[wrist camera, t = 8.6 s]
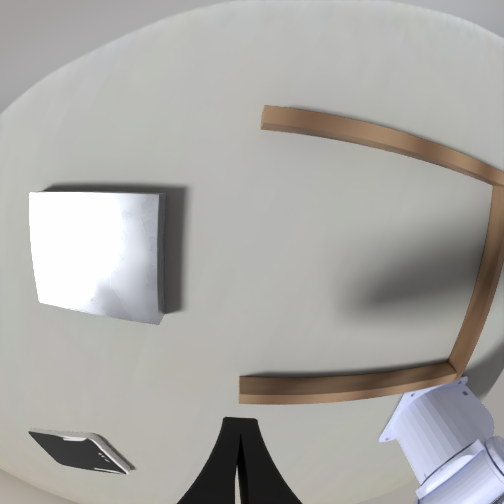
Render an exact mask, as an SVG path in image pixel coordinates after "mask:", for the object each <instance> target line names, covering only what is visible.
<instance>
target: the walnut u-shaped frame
mask: <svg viewBox="0 0 504 504" xmlns="http://www.w3.org/2000/svg"><path fill="white" fill-rule="evenodd" d="M261 129H262V130H272V131H281V132H289V133H297V134H304V135H311V136H317V137H323V138H329V139H335V140H340V141H345V142H350V143H355V144H360V145H365V146H369V147H374V148H378V149H382V150H386V151H390V152H394V153H398V154H402V155H406V156H409V157H413V158H416V159H420V160H423V161H426V162H430V163H433V164H436V165H439V166H442V167H445V168H448V169H451V170H454V171H457V172H460V173H463V174H465V175H468V176H471V177H473V178H476V179H479V180H481V181H484V182H486V183H489V184H491V185H493V193H492V203H491V211H490V218H489V225H488V231H487V237H486V242H485V247H484V252H483V257H482V261H481V265H480V269H479V273H478V277H477V281H476V285H475V288H474V291H473V295H472V298H471V301H470V304H469V307H468V310H467V313H466V316H465V319H464V322H463V325H462V327H461V330H460V333H459V335H458V338H457V340H456V343H455V345H454V347H453V350H452V352H451V354H450V357H449V359H448V361H447V362H446V363H441V364H435V365H430V366H424V367H418V368H412V369H405V370H398V371H391V372H382V373H373V374H363V375H350V376H335V377H310V378H265V377H240V379H239V404H314V403H329V402H341V401H351V400H360V399H368V398H375V397H382V396H389V395H395V394H400V393H406V392H411V391H416V390H420V389H425V388H429V387H434V386H438V385H442V384H446V383H449V382H453V381H457V380H460V378H461V376H462V374H463V372H464V370H465V368H466V366H467V364H468V362H469V360H470V357H471V355H472V353H473V351H474V349H475V346H476V344H477V342H478V339H479V337H480V334H481V332H482V329H483V327H484V324H485V321H486V319H487V316H488V313H489V310H490V307H491V304H492V301H493V298H494V295H495V291H496V288H497V284H498V281H499V277H500V273H501V269H502V265H503V261H504V173H503V172H501V171H499V170H497V169H495V168H493V167H491V166H489V165H487V164H485V163H483V162H481V161H478V160H476V159H474V158H472V157H469V156H467V155H465V154H462V153H460V152H457V151H455V150H452V149H450V148H447V147H444V146H442V145H439V144H436V143H433V142H431V141H428V140H425V139H422V138H419V137H416V136H413V135H410V134H406V133H403V132H400V131H396V130H393V129H389V128H386V127H382V126H378V125H375V124H371V123H367V122H362V121H358V120H354V119H349V118H345V117H340V116H335V115H330V114H324V113H319V112H313V111H307V110H300V109H293V108H286V107H278V106H269V105H265V106H264V109H263V113H262V122H261Z"/></svg>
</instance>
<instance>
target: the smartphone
mask: <svg viewBox="0 0 504 504" xmlns="http://www.w3.org/2000/svg"><path fill="white" fill-rule="evenodd" d="M28 432H29V434H30V435H31V436H32V437H33V438H34V439H35V440H36V442H37V443H38V444H39V445H40V446H41V447H42V448H43V449H44V450H45V451H46V452H47V453H48V454H49V455H50V456H51V457H53V458H54V459H55V460H56V461H57V462H58V463H60V464H62V465H66V466H71V467H76V468H81V469H87V470H94V471H101V472H108V473H118V474H129V471H130V466H129V465H128V464H126V463H125V462H124V461H123V460H122V459H121V458H120V457H119V456H118V455H117V454H116V453H115V452H114V451H113V450H112V449H111V448H109V447H108V446H107V445H106V444H105V442H104V441H103V440H102V439H101V438H100V437H98V436H97V435H95V434H93V433H79V432H64V431H52V430H43V429H35V428H30V430H29V431H28Z"/></svg>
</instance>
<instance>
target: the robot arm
mask: <svg viewBox="0 0 504 504" xmlns="http://www.w3.org/2000/svg"><path fill="white" fill-rule="evenodd" d="M467 380H468V377H467V376H464V377H461V378H460V380H457V381H453V382H449V383H446V384H442V385H438V386H434V387H429V388H425V389H420V390H416V391H411V392H406V393H404V395H403V397H402V399H401V401H400V402H399V404H398V406H397V408H396V410H395V412H394V414H393V415H392V417H391V419H390V421H389V423H388V424H387V426H386V428H385V429H384V431H383V433H382V434H381V436H380V438H379V441H380V442H386V441H390V440H394V439H397V440H398V442H399V444H400V446H401V447H402V449H403V451H404V453H405V455H406V457H407V459H408V461H409V463H410V465H411V467H412V469H413V471H414V473H415V475H416V477H417V479H418V481H419V483H420V485H421V487H420V488H418V489H417V490H416V493H417V496H418V498H416V499H415V501H414V504H491V503H492V502H494V501H495V500H496V499H497V498H499V497H500V496H501V495H502V494H503V493H504V439H503V438H502V437H500V436H493V434H494V422H493V418H492V416H491V414H490V413H489V411H488V410H487V409H486V408H485V406H484V405H483V404H482V403H481V402H480V401H479V400H478V398H477V397H476V396H475V395H474V394H473V393H472V392H471V390H470V389H469V388H468V387H467V386H466V385H465V384H466V382H467ZM236 468H238V479H239V489H240V499H241V504H302V503H301V502H300V500H299V499H298V498H297V497H296V495H295V494H294V493H293V492H292V490H291V489H290V488H289V486H288V485H287V484H286V482H285V481H284V479H283V478H282V476H281V474H280V473H279V471H278V469H277V468H276V466H275V464H274V462H273V460H272V458H271V456H270V454H269V452H268V450H267V448H266V446H265V443H264V441H263V438H262V435H261V432H260V429H259V426H258V421H257V420H256V419H255V418H235V417H225V418H223V423H222V427H221V430H220V433H219V436H218V439H217V442H216V444H215V446H214V448H213V450H212V453H211V455H210V457H209V459H208V460H207V462H206V464H205V466H204V467H203V469H202V471H201V472H200V474H199V476H198V477H197V479H196V480H195V481H194V483H193V484H192V486H191V487H190V488H189V490H188V491H187V492H186V493H185V495H184V496H183V497H182V498H181V499H180V501H179V502H178V503H177V504H235V475H236ZM493 504H504V495H502V496H501V497H500V498H499V499H498V500H496V501H495V502H494V503H493Z"/></svg>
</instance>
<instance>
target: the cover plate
mask: <svg viewBox="0 0 504 504" xmlns="http://www.w3.org/2000/svg"><path fill="white" fill-rule="evenodd" d="M165 206H166V193H155V192H129V191H39V192H32V193H30V229H31V243H32V254H33V263H34V270H35V277H36V284H37V290H38V295H39V301H40V302H42V303H46V304H51V305H55V306H59V307H63V308H68V309H72V310H77V311H82V312H86V313H91V314H96V315H102V316H107V317H112V318H118V319H124V320H130V321H136V322H142V323H149V324H156V325H159V324H160V322H161V320H162V318H163V316H164V314H165V312H164V230H165Z"/></svg>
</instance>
